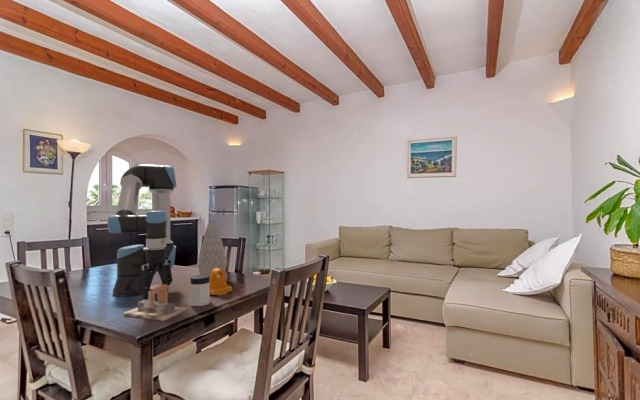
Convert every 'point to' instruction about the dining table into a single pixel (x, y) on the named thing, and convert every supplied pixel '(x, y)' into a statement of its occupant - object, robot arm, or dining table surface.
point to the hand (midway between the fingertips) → (156, 304)
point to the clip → (159, 293)
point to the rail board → (156, 311)
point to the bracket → (218, 282)
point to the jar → (200, 290)
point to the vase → (211, 251)
